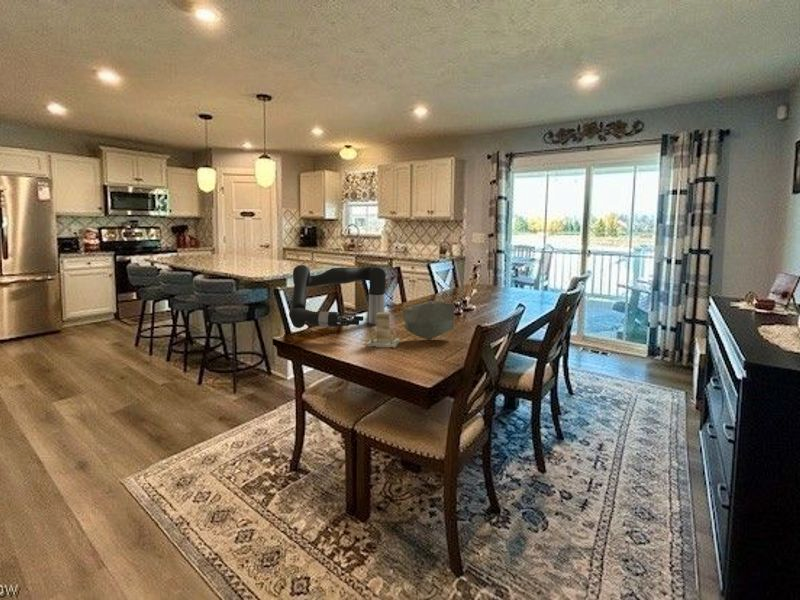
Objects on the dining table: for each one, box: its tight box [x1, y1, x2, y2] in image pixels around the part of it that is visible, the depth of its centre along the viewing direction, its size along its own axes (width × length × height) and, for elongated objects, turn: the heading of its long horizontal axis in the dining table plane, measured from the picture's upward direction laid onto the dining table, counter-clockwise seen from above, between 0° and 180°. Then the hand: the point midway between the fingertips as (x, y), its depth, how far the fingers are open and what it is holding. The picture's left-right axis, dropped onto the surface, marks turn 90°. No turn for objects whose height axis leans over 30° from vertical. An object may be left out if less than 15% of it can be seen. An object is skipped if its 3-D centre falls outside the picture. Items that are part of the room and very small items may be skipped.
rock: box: [401, 300, 456, 340], centre depth 218 cm, size 27×6×20 cm, turn 98°
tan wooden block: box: [376, 311, 391, 343], centre depth 211 cm, size 4×6×14 cm, turn 81°
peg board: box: [366, 329, 400, 349], centre depth 212 cm, size 12×14×5 cm
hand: (361, 320), depth 212 cm, fingers open, 8 cm apart
